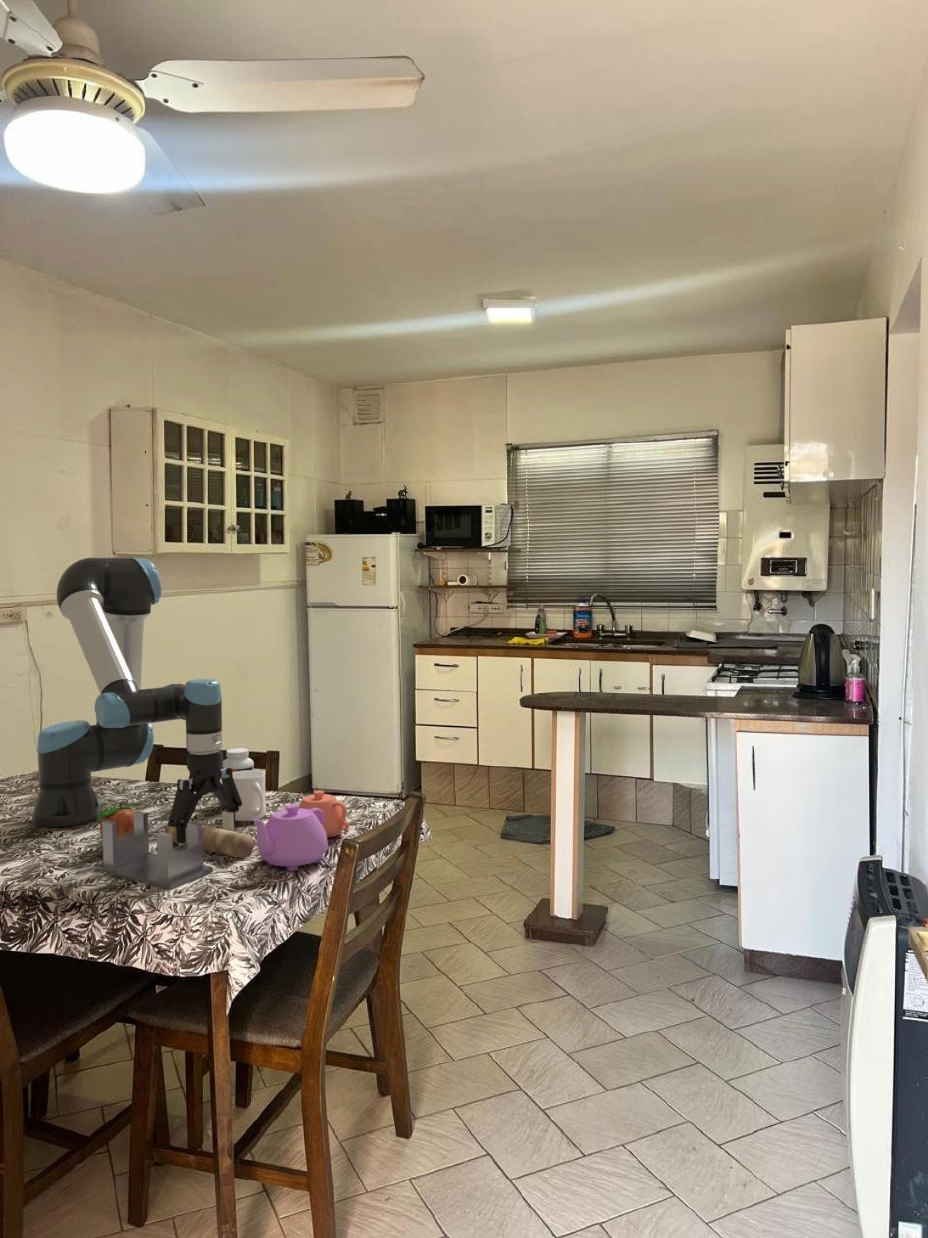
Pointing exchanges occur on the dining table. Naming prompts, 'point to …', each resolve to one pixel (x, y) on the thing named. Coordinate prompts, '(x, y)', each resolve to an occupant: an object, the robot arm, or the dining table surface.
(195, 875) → the bracket stand
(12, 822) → the dining table surface
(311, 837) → the teapot
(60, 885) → the dining table surface
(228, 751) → the pill bottle
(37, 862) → the dining table surface
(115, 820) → the fruit
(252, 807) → the mug
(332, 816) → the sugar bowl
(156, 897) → the dining table surface
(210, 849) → the baguette
